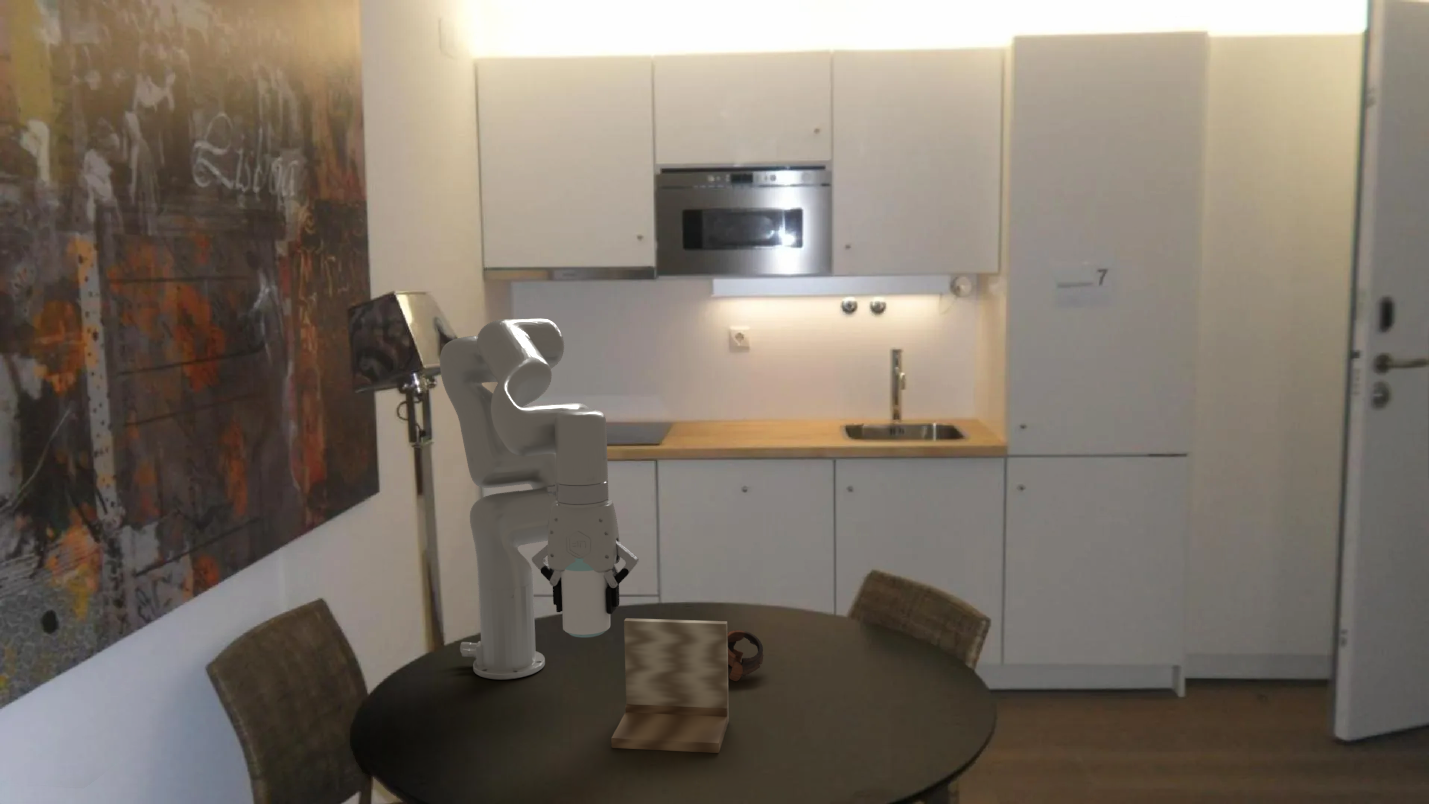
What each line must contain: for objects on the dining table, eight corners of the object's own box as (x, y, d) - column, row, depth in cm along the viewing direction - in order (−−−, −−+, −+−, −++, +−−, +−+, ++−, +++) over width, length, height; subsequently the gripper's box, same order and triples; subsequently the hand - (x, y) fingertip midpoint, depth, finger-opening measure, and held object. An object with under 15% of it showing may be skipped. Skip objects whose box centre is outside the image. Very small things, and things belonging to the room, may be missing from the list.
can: (597, 641, 152) (595, 560, 150) (554, 636, 154) (551, 557, 152) (618, 625, 158) (616, 548, 157) (576, 621, 160) (574, 545, 159)
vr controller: (755, 661, 189) (767, 630, 185) (754, 702, 181) (767, 670, 177) (690, 647, 188) (702, 615, 184) (687, 688, 180) (698, 655, 176)
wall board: (611, 747, 154) (608, 642, 152) (628, 716, 165) (625, 618, 163) (718, 752, 152) (717, 646, 150) (728, 720, 163) (727, 621, 161)
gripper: (517, 497, 151) (522, 616, 153) (634, 499, 149) (637, 620, 151) (534, 487, 159) (538, 601, 161) (646, 489, 156) (649, 604, 158)
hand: (586, 609), depth 156 cm, fingers closed on can, 7 cm apart
